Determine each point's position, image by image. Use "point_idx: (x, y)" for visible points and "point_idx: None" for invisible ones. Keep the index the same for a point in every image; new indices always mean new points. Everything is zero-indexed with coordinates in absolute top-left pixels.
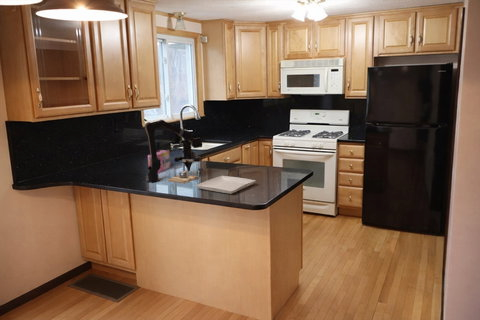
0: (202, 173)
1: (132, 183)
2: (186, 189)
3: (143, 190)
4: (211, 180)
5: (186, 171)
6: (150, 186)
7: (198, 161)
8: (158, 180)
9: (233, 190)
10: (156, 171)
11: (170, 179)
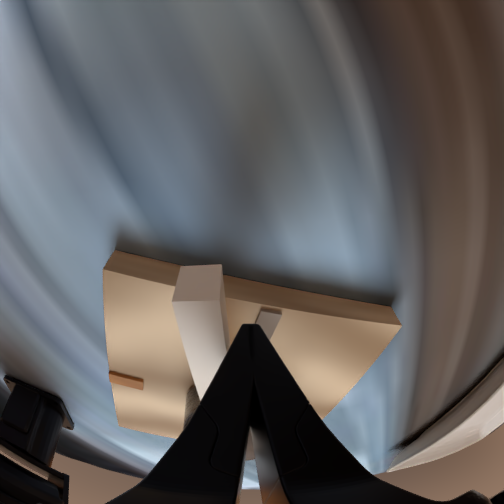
0: (388, 10)
1: (2, 410)
2: None
3: (143, 477)
4: (469, 414)
5: None
6: (118, 457)
7: (496, 496)
8: (61, 409)
9: (486, 435)
10: (65, 487)
11: (147, 432)
